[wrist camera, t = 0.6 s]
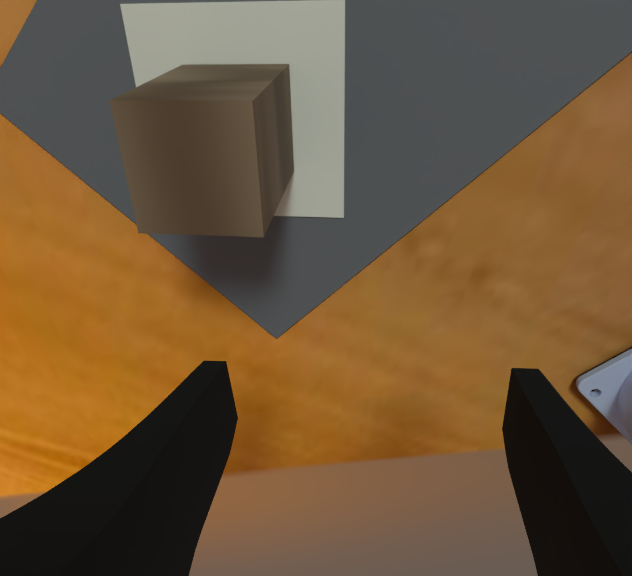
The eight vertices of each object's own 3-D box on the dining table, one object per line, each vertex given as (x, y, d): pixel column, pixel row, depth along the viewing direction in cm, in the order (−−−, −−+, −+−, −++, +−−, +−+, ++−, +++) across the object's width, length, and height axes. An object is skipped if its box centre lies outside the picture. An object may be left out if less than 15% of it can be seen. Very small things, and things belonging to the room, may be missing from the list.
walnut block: (289, 64, 19) (252, 101, 14) (294, 171, 21) (263, 237, 16) (182, 64, 19) (109, 100, 14) (197, 169, 21) (138, 233, 16)
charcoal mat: (821, -103, 15) (823, -104, 15) (276, 337, 26) (276, 338, 26) (469, -789, 10) (469, -794, 10) (-16, 98, 21) (-17, 99, 21)
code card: (161, 211, 23) (159, 213, 23) (120, 3, 19) (119, 4, 19) (343, 216, 22) (343, 218, 22) (345, -1, 18) (344, 0, 18)
